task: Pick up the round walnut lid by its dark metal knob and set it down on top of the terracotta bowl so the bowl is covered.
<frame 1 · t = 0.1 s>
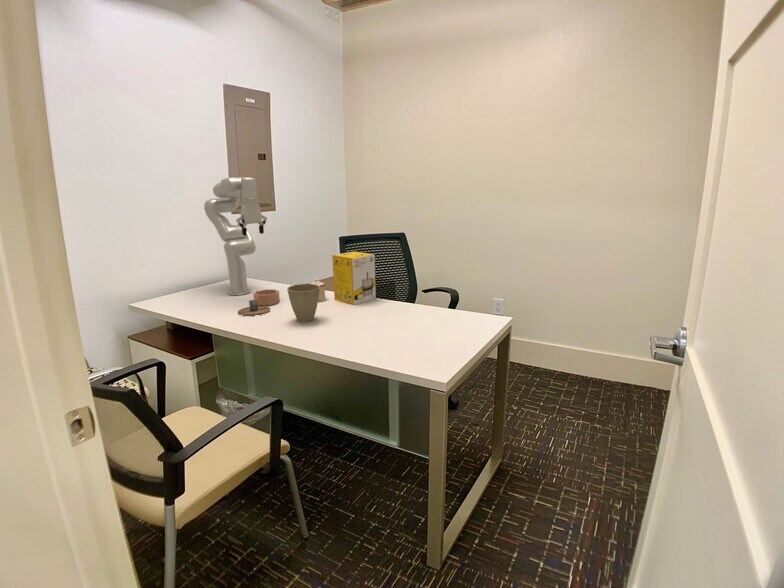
hand: (253, 234, 235), 37 cm above the table, tool pointing down, fingers open, 9 cm apart
plant pot: (305, 320, 209), on the table
packaging box: (355, 299, 243), on the table
bowl: (267, 302, 239), on the table
teacup with lid: (315, 299, 244), on the table
lid: (254, 312, 223), on the table
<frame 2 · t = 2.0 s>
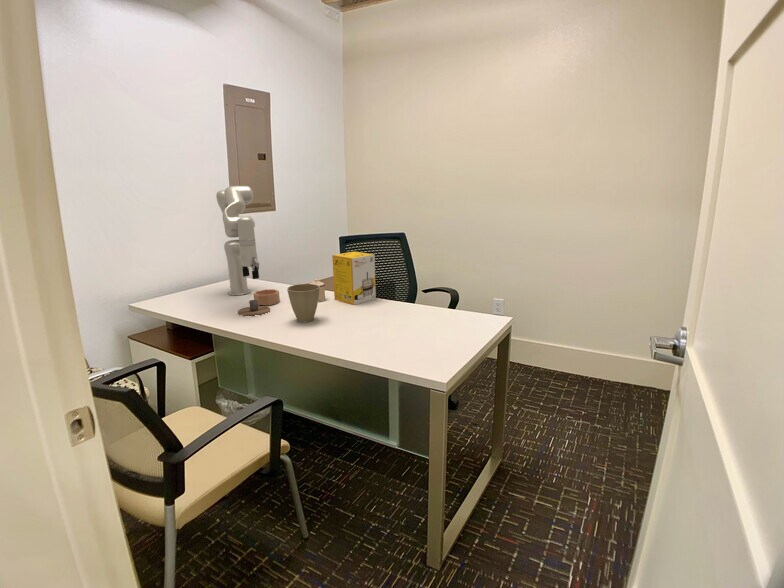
hand: (251, 277, 218), 18 cm above the table, tool pointing down, fingers open, 9 cm apart
nothing on the table moved.
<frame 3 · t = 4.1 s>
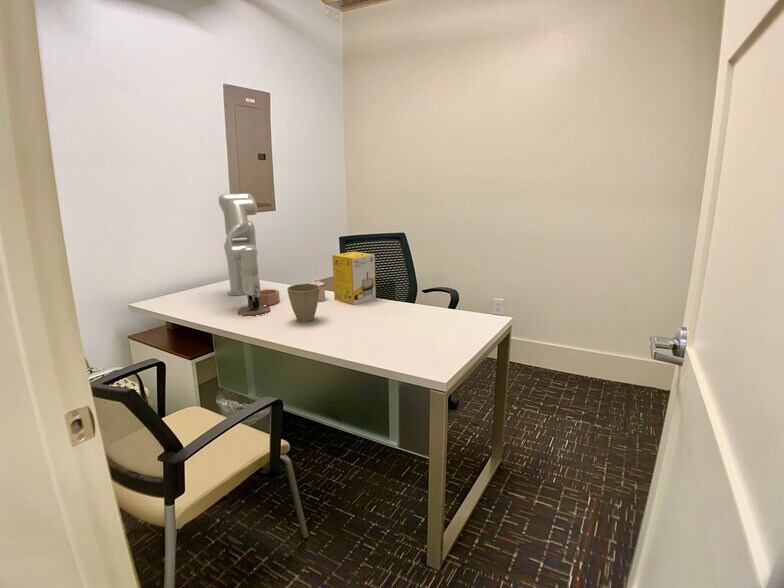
hand: (253, 307, 222), 3 cm above the table, tool pointing down, fingers closed on lid, 4 cm apart
lid: (254, 311, 223), on the table, touching gripper
everything else where it was.
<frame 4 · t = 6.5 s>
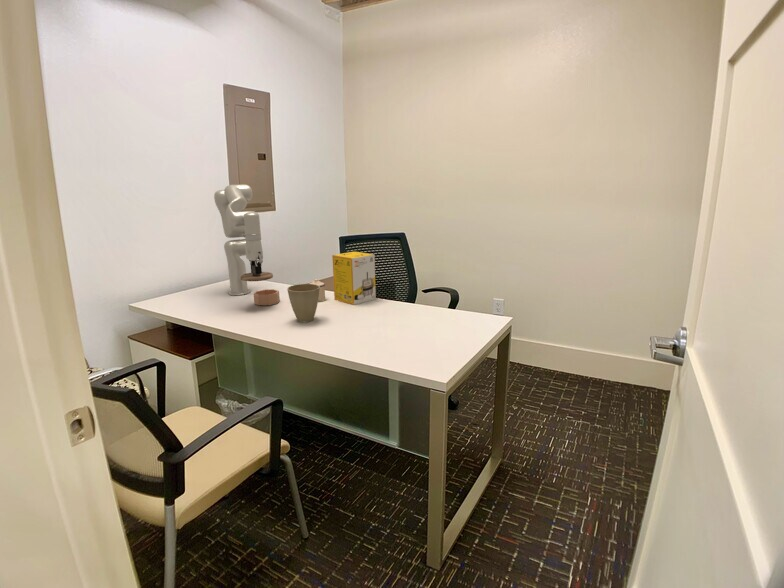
hand: (256, 272, 225), 19 cm above the table, tool pointing down, fingers closed on lid, 4 cm apart
lid: (257, 277, 226), point 16 cm above the table, touching gripper
everything else where it was.
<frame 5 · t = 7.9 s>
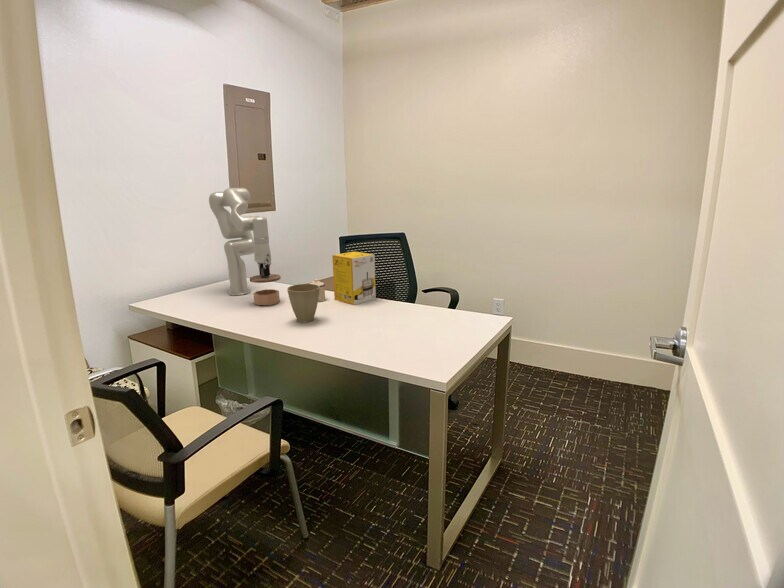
hand: (264, 274, 235), 16 cm above the table, tool pointing down, fingers closed on lid, 4 cm apart
lid: (265, 279, 235), point 13 cm above the table, touching gripper
everything else where it was.
when the fingers open (10 cm above the table, at t = 9.2 s): lid drops 1 cm, resting on bowl.
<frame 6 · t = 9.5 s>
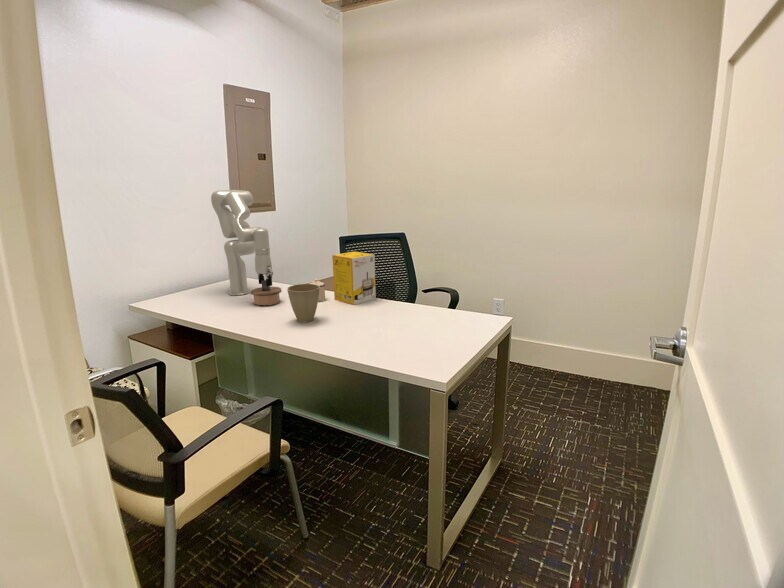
hand: (265, 284, 236), 10 cm above the table, tool pointing down, fingers open, 7 cm apart
lid: (266, 292, 237), point 6 cm above the table, touching bowl
everything else where it was.
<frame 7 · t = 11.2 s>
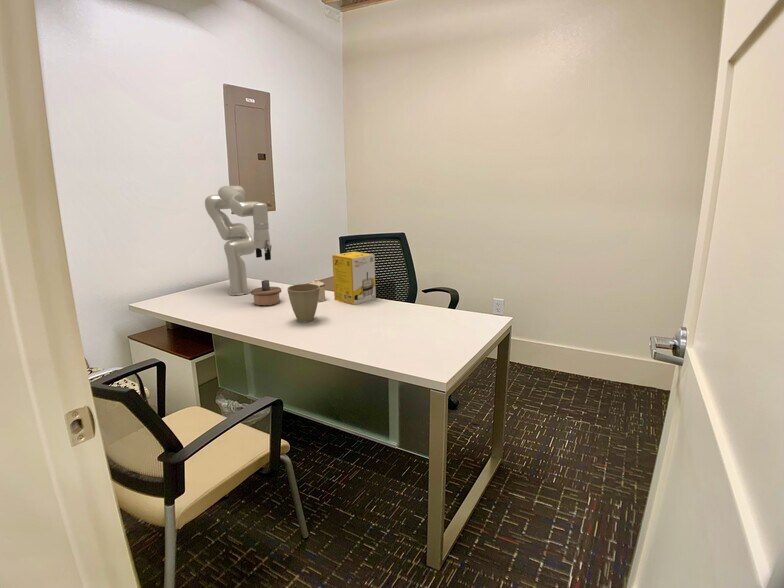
hand: (263, 258, 236), 24 cm above the table, tool pointing down, fingers open, 9 cm apart
nothing on the table moved.
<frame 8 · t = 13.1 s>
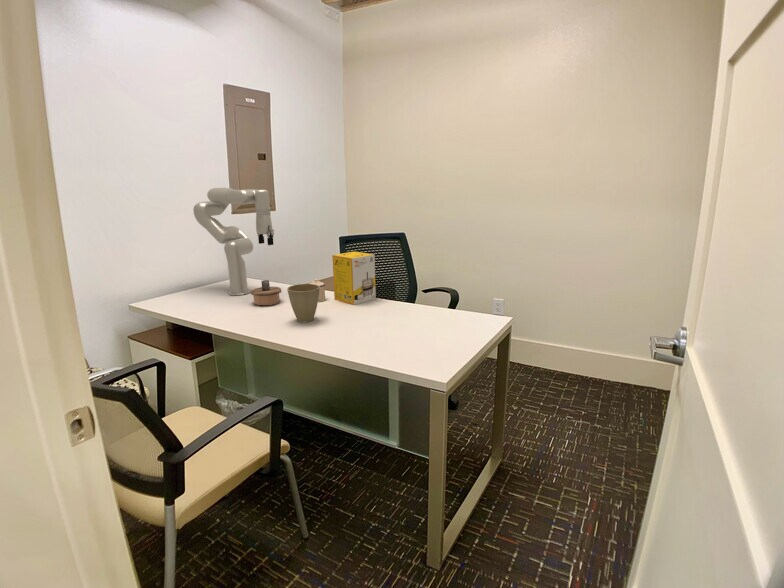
hand: (266, 244, 243), 30 cm above the table, tool pointing down, fingers open, 9 cm apart
nothing on the table moved.
at the end: lid 0.1 cm off-centre on the bowl, point 6.0 cm above the bowl's base; lid tilted 0°; the gripper is holding nothing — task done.
